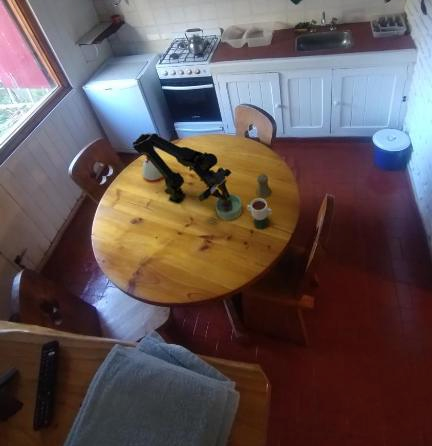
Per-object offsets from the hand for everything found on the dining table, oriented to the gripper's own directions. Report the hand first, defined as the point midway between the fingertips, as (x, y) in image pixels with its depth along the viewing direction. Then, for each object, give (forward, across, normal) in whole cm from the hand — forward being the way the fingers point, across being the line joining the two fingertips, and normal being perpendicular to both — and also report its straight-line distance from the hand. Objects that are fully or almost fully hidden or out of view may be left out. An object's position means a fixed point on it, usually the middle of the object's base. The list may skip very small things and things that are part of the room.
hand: (227, 199), depth 153 cm
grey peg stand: (+4, 0, +6) cm, 7 cm away
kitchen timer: (-30, +4, +48) cm, 57 cm away
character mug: (+19, +4, -1) cm, 19 cm away
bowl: (+7, +3, +11) cm, 13 cm away
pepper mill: (+13, +21, +5) cm, 25 cm away
